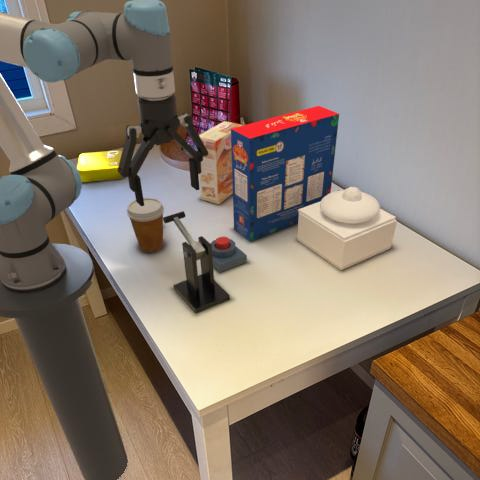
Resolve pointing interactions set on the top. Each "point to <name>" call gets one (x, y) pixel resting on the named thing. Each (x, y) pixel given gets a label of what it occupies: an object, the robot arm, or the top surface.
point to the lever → (186, 233)
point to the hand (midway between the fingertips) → (168, 195)
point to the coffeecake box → (217, 163)
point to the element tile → (99, 166)
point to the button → (222, 243)
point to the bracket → (200, 280)
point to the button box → (227, 257)
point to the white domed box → (346, 227)
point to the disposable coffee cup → (147, 223)
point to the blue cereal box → (281, 169)
